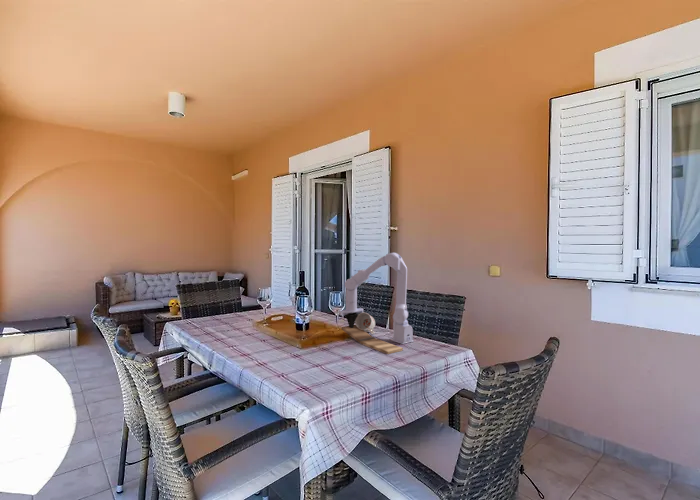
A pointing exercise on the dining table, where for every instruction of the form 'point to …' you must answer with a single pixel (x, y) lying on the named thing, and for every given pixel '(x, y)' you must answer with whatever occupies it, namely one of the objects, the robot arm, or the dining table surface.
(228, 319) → the dining table surface
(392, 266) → the robot arm
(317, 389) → the dining table surface
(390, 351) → the oak board
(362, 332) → the plank
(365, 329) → the mug
